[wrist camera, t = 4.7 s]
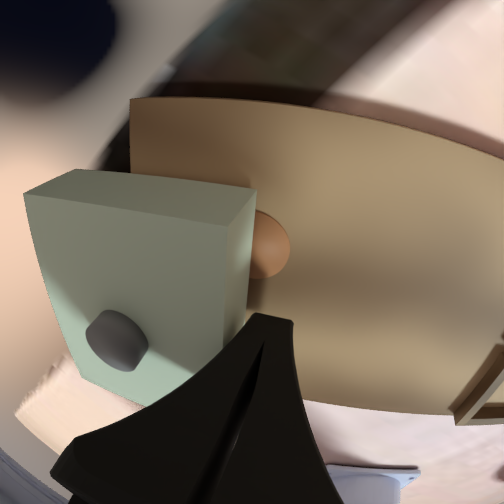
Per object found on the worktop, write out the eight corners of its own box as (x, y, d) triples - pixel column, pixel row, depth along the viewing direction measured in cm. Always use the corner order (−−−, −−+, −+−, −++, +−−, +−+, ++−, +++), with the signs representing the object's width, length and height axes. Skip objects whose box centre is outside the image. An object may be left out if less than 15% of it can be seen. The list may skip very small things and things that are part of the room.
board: (555, 398, 11) (562, 418, 10) (162, 346, 16) (147, 370, 14) (646, 243, 5) (662, 259, 4) (145, 97, 10) (115, 101, 8)
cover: (239, 384, 13) (215, 447, 10) (110, 342, 15) (73, 389, 12) (257, 189, 9) (215, 243, 6) (75, 168, 10) (5, 202, 7)
